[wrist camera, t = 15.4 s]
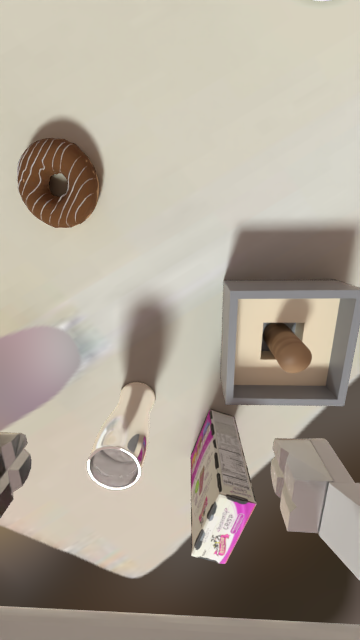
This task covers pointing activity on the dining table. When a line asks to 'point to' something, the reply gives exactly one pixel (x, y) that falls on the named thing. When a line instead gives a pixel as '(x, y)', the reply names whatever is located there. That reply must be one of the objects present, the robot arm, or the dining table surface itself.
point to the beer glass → (123, 439)
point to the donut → (52, 160)
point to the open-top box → (306, 323)
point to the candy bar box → (219, 489)
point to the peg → (287, 348)
